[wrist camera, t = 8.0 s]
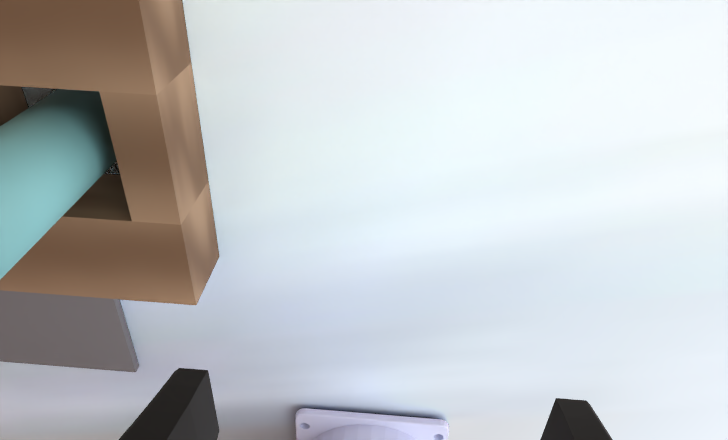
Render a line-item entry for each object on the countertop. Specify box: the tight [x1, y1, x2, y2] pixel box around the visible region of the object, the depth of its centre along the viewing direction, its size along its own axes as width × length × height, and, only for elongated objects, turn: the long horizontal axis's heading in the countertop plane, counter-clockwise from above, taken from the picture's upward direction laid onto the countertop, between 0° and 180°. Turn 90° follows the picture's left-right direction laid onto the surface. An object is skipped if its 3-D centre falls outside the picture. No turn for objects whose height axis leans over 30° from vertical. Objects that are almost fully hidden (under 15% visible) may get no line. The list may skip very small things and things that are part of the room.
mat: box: [0, 290, 139, 372], centre depth 25 cm, size 8×9×1 cm
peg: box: [0, 89, 117, 280], centre depth 16 cm, size 3×3×9 cm
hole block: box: [0, 0, 219, 305], centre depth 18 cm, size 12×8×3 cm, turn 178°
